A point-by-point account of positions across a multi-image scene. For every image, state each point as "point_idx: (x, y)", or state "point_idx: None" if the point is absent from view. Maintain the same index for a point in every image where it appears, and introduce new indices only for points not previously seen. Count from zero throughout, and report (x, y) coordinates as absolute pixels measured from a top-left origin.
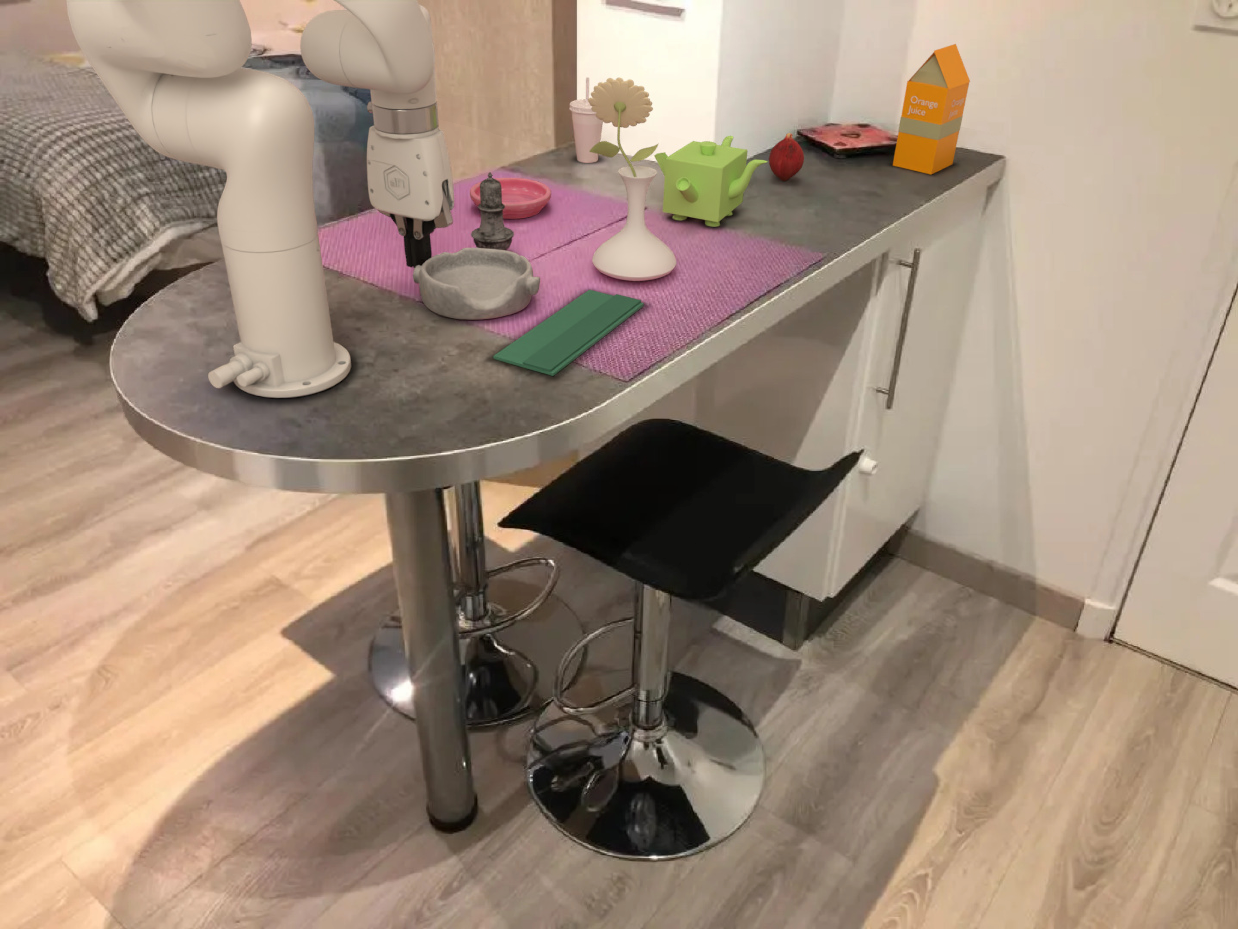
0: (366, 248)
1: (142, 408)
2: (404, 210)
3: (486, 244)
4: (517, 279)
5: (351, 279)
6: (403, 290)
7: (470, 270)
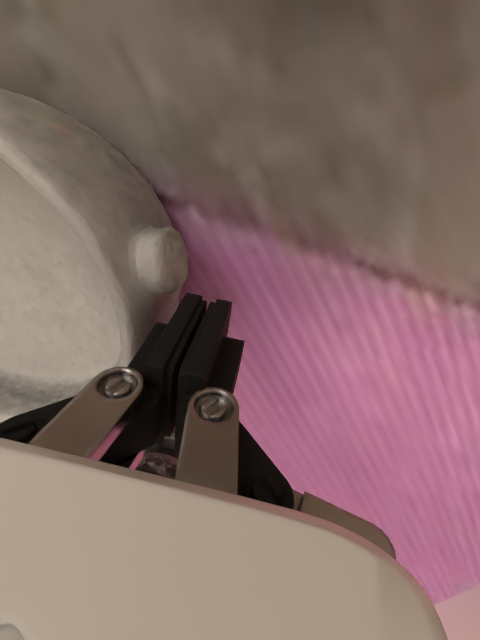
0: (472, 456)
1: None
2: (18, 498)
3: (143, 468)
4: None
5: (465, 288)
6: (267, 263)
7: (96, 357)
